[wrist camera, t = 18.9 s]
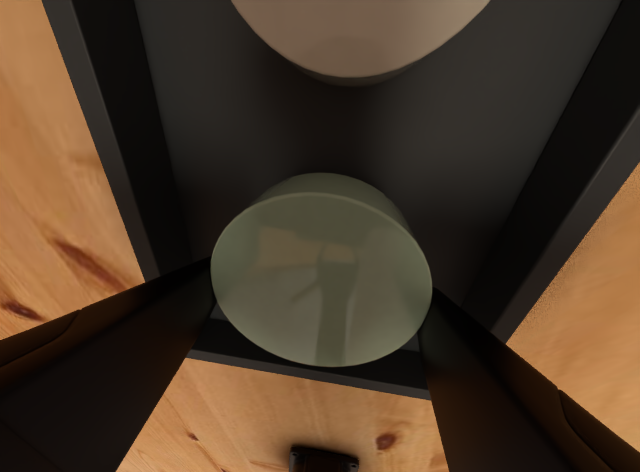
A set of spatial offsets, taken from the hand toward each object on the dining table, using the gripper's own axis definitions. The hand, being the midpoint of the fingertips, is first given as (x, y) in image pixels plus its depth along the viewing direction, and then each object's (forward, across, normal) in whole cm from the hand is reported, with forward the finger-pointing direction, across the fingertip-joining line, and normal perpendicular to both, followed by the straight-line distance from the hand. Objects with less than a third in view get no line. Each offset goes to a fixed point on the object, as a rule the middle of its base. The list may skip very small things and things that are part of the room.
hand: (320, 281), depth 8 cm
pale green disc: (+1, 0, 0) cm, 1 cm away
